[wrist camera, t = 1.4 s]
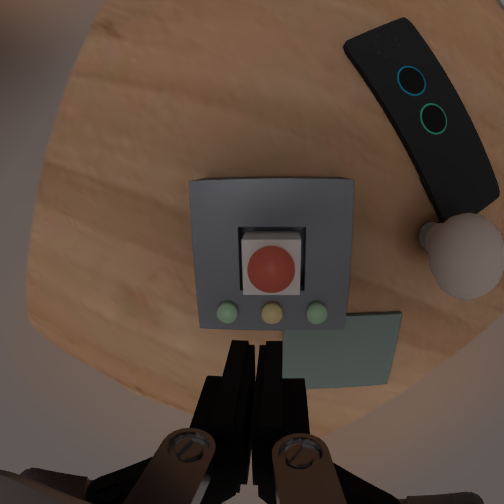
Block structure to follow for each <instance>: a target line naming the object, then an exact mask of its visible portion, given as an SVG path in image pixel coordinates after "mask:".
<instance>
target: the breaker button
mask: <svg viewBox="0 0 504 504" xmlns="http://www.w3.org/2000/svg"><path fill="white" fill-rule="evenodd" d="M241 241H242V272H243V295H300V268H301V238H300V234H299V231H246V232H245V234H244V236H243V238H242V240H241Z"/></svg>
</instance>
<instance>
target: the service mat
mask: <svg viewBox="0 0 504 504" xmlns="http://www.w3.org/2000/svg"><path fill="white" fill-rule="evenodd" d="M401 317H402V313H401V312H400V311H396V312H374V313H346V322H345V329H344V330H283V364H282V378H304V379H305V385H306V389H315V388H340V387H357V386H370V385H381V384H387V382H388V378H389V374H390V370H391V365H392V361H393V357H394V352H395V348H396V343H397V338H398V333H399V328H400V323H401Z"/></svg>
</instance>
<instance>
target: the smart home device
mask: <svg viewBox="0 0 504 504" xmlns="http://www.w3.org/2000/svg"><path fill="white" fill-rule="evenodd" d="M343 48H344V51H345V54H346V55H347V57H348V58H349V60H350V61H351V62H352V64H353V65H354V67H355V68H356V69H357V71H358V72H359V74H360V75H361V77H362V78H363V79H364V81H365V82H366V84H367V85H368V87H369V88H370V90H371V91H372V93H373V95H374V96H375V98H376V99H377V101H378V102H379V104H380V106H381V107H382V109H383V110H384V112H385V114H386V115H387V117H388V119H389V120H390V122H391V124H392V126H393V127H394V129H395V131H396V132H397V134H398V136H399V138H400V140H401V141H402V143H403V145H404V147H405V149H406V151H407V153H408V154H409V156H410V158H411V160H412V162H413V164H414V166H415V168H416V170H417V172H418V174H419V176H420V180H421V182H422V184H423V186H424V189H425V191H426V193H427V195H428V197H429V200H430V201H431V202H432V204H433V207H434V209H435V211H436V214H437V216H438V218H439V221H440V223H444V222H445V221H446V220H447V219H449V218H450V217H452V216H456V215H459V214H462V213H474V214H477V213H478V212H480V211H481V210H482V209H484V208H485V207H486V206H488V205H489V204H490V203H492V202H493V201H494V200H496V199H497V198H498V197H499V195H500V191H499V186H498V183H497V180H496V177H495V175H494V172H493V169H492V167H491V164H490V162H489V159H488V157H487V154H486V152H485V149H484V147H483V145H482V142H481V140H480V138H479V136H478V133H477V131H476V129H475V127H474V125H473V123H472V121H471V119H470V117H469V115H468V113H467V111H466V109H465V107H464V105H463V103H462V101H461V99H460V97H459V95H458V94H457V92H456V90H455V88H454V86H453V85H452V83H451V81H450V80H449V78H448V76H447V74H446V73H445V71H444V70H443V68H442V66H441V65H440V63H439V62H438V60H437V58H436V57H435V55H434V54H433V52H432V51H431V49H430V48H429V46H428V45H427V43H426V42H425V41H424V39H423V38H422V36H421V35H420V34H419V32H418V31H417V29H416V28H415V27H414V25H413V24H412V23H411V22H410V21H409V20H408V19H406V18H404V17H403V18H400V19H397V20H395V21H392V22H390V23H387V24H384V25H382V26H380V27H377V28H375V29H372V30H370V31H368V32H365V33H363V34H361V35H358V36H356V37H354V38H352V39H349V40H347V41H346V42H345V44H344V46H343Z"/></svg>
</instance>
